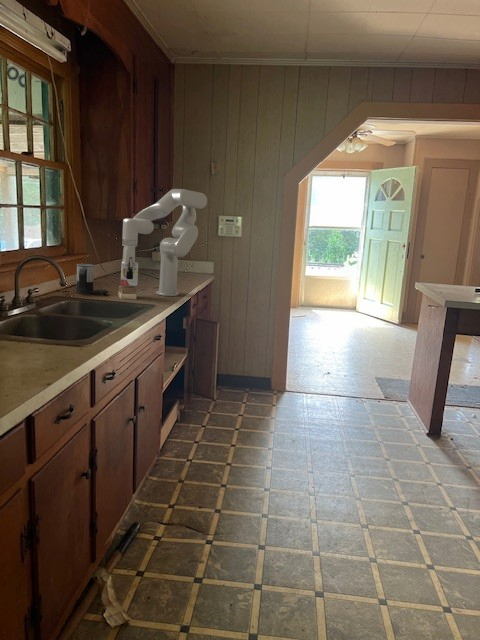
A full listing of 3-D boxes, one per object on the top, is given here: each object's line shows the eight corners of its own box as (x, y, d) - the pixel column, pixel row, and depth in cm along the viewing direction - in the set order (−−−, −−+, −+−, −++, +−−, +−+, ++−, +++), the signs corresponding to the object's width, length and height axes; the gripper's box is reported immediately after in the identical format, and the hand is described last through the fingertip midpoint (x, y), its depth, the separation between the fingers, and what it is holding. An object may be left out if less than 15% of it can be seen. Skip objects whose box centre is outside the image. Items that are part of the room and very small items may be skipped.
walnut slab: (118, 291, 253) (119, 285, 253) (132, 291, 257) (132, 285, 256) (122, 293, 247) (122, 288, 247) (135, 293, 251) (135, 288, 250)
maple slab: (118, 296, 255) (118, 291, 254) (133, 296, 258) (133, 291, 257) (120, 299, 248) (120, 293, 247) (136, 299, 251) (136, 294, 250)
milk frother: (74, 290, 257) (75, 263, 254) (105, 291, 264) (105, 264, 260) (77, 295, 245) (78, 266, 241) (109, 296, 251) (110, 268, 248)
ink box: (120, 285, 248) (121, 262, 246) (120, 283, 253) (121, 261, 250) (137, 285, 250) (138, 263, 247) (137, 284, 255) (138, 262, 252)
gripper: (119, 241, 253) (118, 275, 257) (125, 244, 237) (123, 280, 241) (134, 242, 256) (133, 275, 260) (140, 245, 240) (138, 281, 244)
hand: (128, 277), depth 250 cm, fingers closed on ink box, 5 cm apart
